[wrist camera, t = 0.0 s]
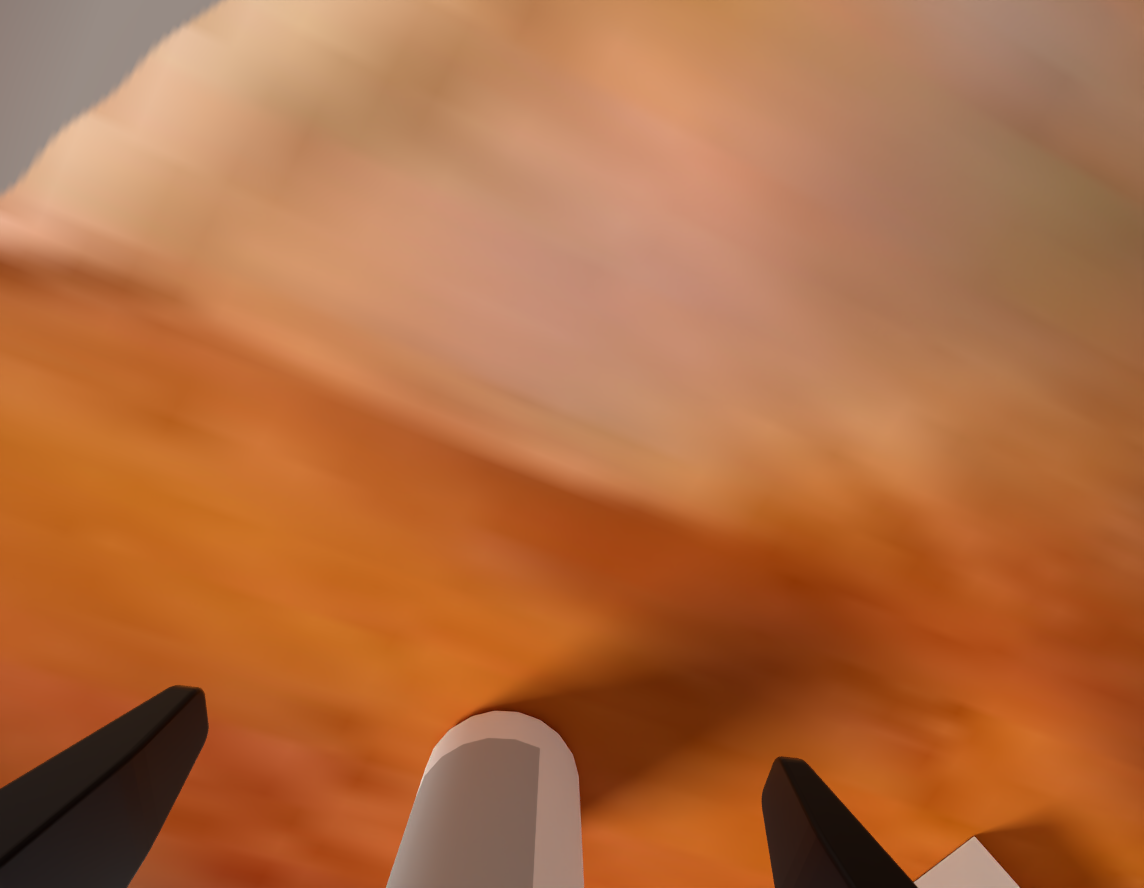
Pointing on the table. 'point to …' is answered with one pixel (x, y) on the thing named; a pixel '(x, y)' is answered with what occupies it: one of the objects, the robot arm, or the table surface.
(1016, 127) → the table surface
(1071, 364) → the table surface
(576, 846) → the white bottle
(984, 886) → the socket block
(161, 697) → the robot arm
